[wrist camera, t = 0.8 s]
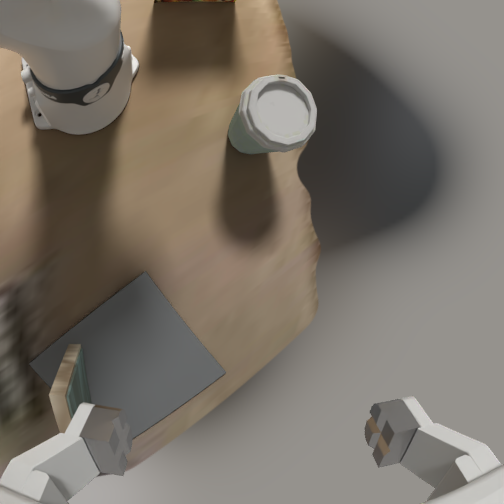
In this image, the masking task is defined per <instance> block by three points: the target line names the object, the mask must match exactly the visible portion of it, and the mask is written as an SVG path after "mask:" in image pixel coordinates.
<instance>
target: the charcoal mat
mask: <svg viewBox="0 0 504 504" xmlns="http://www.w3.org/2000/svg"><path fill="white" fill-rule="evenodd" d="M69 344H81V348H82V349H83V356H84V363H85V369H86V375H87V381H88V386H89V392H90V397H91V402H92V404H94V405H101V406H107V407H113V408H119V409H124V410H125V411H126V414H127V420H126V423H127V424H128V425H129V426H130V427H131V431H132V439H133V438H134V437H136V436H138V435H139V434H141V433H142V432H144V431H145V430H147V429H148V428H150V427H151V426H153V425H154V424H155V423H157V422H158V421H160V420H161V419H163V418H164V417H166V416H167V415H169V414H170V413H171V412H173V411H174V410H176V409H177V408H178V407H180V406H181V405H183V404H184V403H186V402H187V401H188V400H190V399H191V398H192V397H194V396H195V395H197V394H198V393H199V392H201V391H202V390H203V389H205V388H206V387H207V386H209V385H210V384H211V383H213V382H214V381H215V380H217V379H218V378H219V377H221V376H222V375H223V374H225V373H226V372H225V370H224V369H223V368H222V367H221V366H220V365H219V363H218V362H217V361H216V360H215V359H214V358H213V356H212V355H211V354H210V353H209V352H208V350H207V349H206V348H205V347H204V346H203V344H202V343H201V342H200V341H199V340H198V338H197V337H196V336H195V335H194V334H193V332H192V331H191V330H190V329H189V327H188V326H187V325H186V324H185V322H184V321H183V320H182V319H181V317H180V316H179V315H178V313H177V312H176V311H175V310H174V308H173V307H172V306H171V304H170V303H169V302H168V301H167V299H166V298H165V297H164V295H163V294H162V293H161V291H160V290H159V289H158V287H157V286H156V285H155V283H154V282H153V281H152V279H151V278H150V277H149V275H148V274H147V272H146V271H145V272H144V273H142V274H141V275H140V276H138V277H137V278H136V279H134V280H133V281H132V282H130V283H129V284H128V285H127V286H125V287H124V288H123V289H121V290H120V291H119V292H117V293H116V294H115V295H113V296H112V297H111V298H110V299H108V300H107V301H106V302H104V303H103V304H102V305H101V306H99V307H98V308H97V309H95V310H94V311H93V312H92V313H90V314H89V315H88V316H87V317H85V318H84V319H83V320H82V321H80V322H79V323H78V324H77V325H75V326H74V327H73V328H72V329H70V330H69V331H68V332H67V333H65V334H64V335H63V336H62V337H60V338H59V339H58V340H57V341H56V342H54V343H53V344H52V345H51V346H50V347H48V348H47V349H46V350H45V351H43V352H42V353H41V354H40V355H39V356H37V357H36V358H35V359H34V360H33V361H32V362H30V364H29V365H30V366H31V367H32V368H33V369H34V370H35V372H36V373H37V374H38V375H39V376H40V377H41V378H42V379H43V380H44V382H45V383H46V384H47V385H48V386H49V387H50V388H52V385H53V383H54V380H55V377H56V375H57V372H58V370H59V367H60V365H61V362H62V360H63V357H64V355H65V352H66V350H67V347H68V345H69Z"/></svg>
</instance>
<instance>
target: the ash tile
mask: <svg viewBox="0 0 504 504" xmlns="http://www.w3.org/2000/svg"><path fill="white" fill-rule="evenodd" d="M49 397H50V401H51V404H52V408H53V412H54V415H55V419H56V422H57V426H58V429H59V432H60V433H65V431H66V429H67V428H68V426H69V424H70V422H71V420H72V418H73V416H74V414H75V412H76V411H77V409H78V407H79V405H80V404H81V403H83V402H84V403H89V404H92V402H91V397H90V392H89V386H88V381H87V375H86V369H85V363H84V356H83V349H82V348H81V344H69V345H68V347H67V350H66V352H65V355H64V357H63V360H62V362H61V365H60V367H59V370H58V372H57V375H56V377H55V380H54V383H53V385H52V388H51V391H50V393H49Z"/></svg>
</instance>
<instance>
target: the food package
mask: <svg viewBox="0 0 504 504" xmlns="http://www.w3.org/2000/svg"><path fill="white" fill-rule="evenodd" d="M180 1H218V2H235V1H236V0H154V3H156V2H180Z"/></svg>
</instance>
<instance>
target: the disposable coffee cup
mask: <svg viewBox="0 0 504 504" xmlns="http://www.w3.org/2000/svg"><path fill="white" fill-rule="evenodd" d="M316 113H317V109H316V106H315V103H314V100H313V97H312V94H311V93H310V91H309V90H308V89H307V88H306V87H305V86H304V85H303V84H302V83H301V82H300V81H299V80H298V79H295V78H292V77H289V76H286V75H270V76H265V77H261V78H257V79H256V80H254V81H253V82H252V83H251V84H250V85H249V86H248V87H247V88H246V89H245V90H244V91H243V92H242V95H241V101H240V104H239V106H238V108H237V110H236V112H235V114H234V116H233V118H232V120H231V123H230V125H229V131H228V137H229V139H230V142H231V144H232V146H233V147H235V148H236V149H237V150H238V151H239V152H242V153H247V154H258V153H268V152H278V151H280V152H287V151H290V150H293V149H296V148H299V147H302V146H303V145H304V144H305V143H306V142H307V140H308V139H309V138H310V136H311V135H312V134H313V133H314V131H315V125H316V115H317V114H316Z"/></svg>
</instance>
